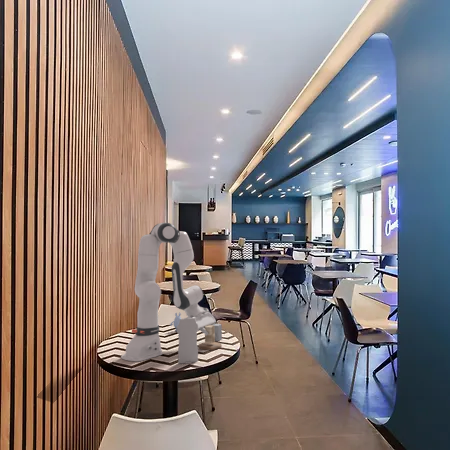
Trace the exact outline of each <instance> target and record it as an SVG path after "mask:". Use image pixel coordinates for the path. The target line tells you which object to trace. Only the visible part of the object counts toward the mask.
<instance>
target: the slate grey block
mask: <svg viewBox="0 0 450 450" xmlns="http://www.w3.org/2000/svg"><path fill="white" fill-rule="evenodd" d="M214 326H215V342H220V341H222V340H223V335H222V334H223V333H222V331H223V330H222V324H221V323H215V324H214Z"/></svg>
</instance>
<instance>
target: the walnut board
mask: <svg viewBox="0 0 450 450" xmlns="http://www.w3.org/2000/svg"><path fill="white" fill-rule="evenodd" d="M197 346H198V350H202V351H214V350H216V351H217V350H218V349H221V348H222V343H220V342H219V341H215V342H213V343H205V341H204V342H201V343H199V344H197Z"/></svg>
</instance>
